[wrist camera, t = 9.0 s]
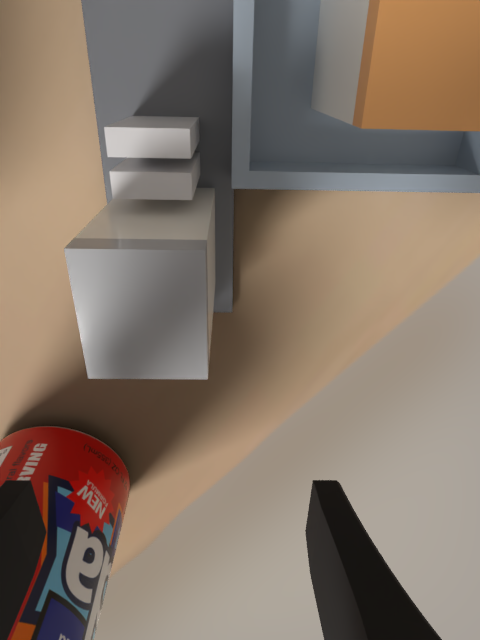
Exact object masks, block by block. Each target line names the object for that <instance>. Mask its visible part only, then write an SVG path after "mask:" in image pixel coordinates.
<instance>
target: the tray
mask: <svg viewBox="0 0 480 640" xmlns="http://www.w3.org/2000/svg"><path fill="white" fill-rule="evenodd" d="M320 2H321V0H233V86H232V189H278V190H337V191H397V192H456V193H480V131H440V130H399V129H361V128H358V127H356V126H353V125H351V124H348V123H346V122H343V121H341V120H339V119H336V118H334V117H331V116H329V115H326V114H324V113H321V112H319V111H316V110H314V109H311V99H312V89H313V78H314V67H315V56H316V45H317V34H318V24H319V13H320Z"/></svg>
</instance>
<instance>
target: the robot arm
mask: <svg viewBox="0 0 480 640" xmlns="http://www.w3.org/2000/svg"><path fill="white" fill-rule="evenodd" d="M46 533H47V531H46V528H45V525H44V522H43V518H42V515H41V512H40V509H39V505H38V502H37V499H36V496H35V492H34V489H33V486H32V483H31V480H7V481H5V482H4V483H3V484H2V485H1V486H0V640H7V639H8V637H9V634H10V632H11V630H12V627H13V625H14V623H15V620H16V618H17V615H18V613H19V611H20V608H21V606H22V603H23V601H24V599H25V596H26V594H27V591H28V589H29V586H30V584H31V581H32V579H33V576H34V574H35V570H36V567H37V564H38V561H39V557H40V554H41V550H42V547H43V543H44V540H45V536H46ZM306 540H307V548H308V558H309V567H310V574H311V579H312V584H313V589H314V594H315V598H316V603H317V608H318V612H319V617H320V621H321V626H322V631H323V635H324V640H442V639H441V638H440V637H439V636H438V634H437V633H436V632H435V631H434V629H433V628H432V627H431V625H430V624H429V623H428V621H427V620H426V619H425V617H424V616H423V615H422V613H421V612H420V611H419V609H418V608H417V607H416V605H415V604H414V603H413V601H412V600H411V598H410V597H409V596H408V594H407V593H406V591H405V590H404V589H403V587H402V586H401V584H400V583H399V582H398V580H397V578H396V577H395V575H394V574H393V573H392V571H391V570H390V568H389V567H388V565H387V564H386V562H385V561H384V559H383V557H382V556H381V554H380V553H379V551H378V549H377V548H376V546H375V545H374V543H373V542H372V540H371V538H370V537H369V535H368V533H367V532H366V530H365V529H364V527H363V525H362V523H361V522H360V520H359V518H358V517H357V515H356V513H355V511H354V509H353V508H352V506H351V504H350V502H349V500H348V498H347V496H346V495H345V493H344V491H343V489H342V487H341V485H340V483H339V482H337V481H332V480H330V481H329V480H325V481H324V480H321V481H320V480H318V481H317V480H313V484H312V490H311V498H310V504H309V511H308V518H307V525H306Z"/></svg>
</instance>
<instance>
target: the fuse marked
mask: <svg viewBox="0 0 480 640" xmlns="http://www.w3.org/2000/svg"><path fill="white" fill-rule="evenodd" d="M311 109H314V110H316V111H319V112H321V113H324V114H326V115H329V116H331V117H334V118H336V119H339V120H341V121H343V122H346V123H348V124H351V125H353V126H356V127H358V128H361V129H399V130H440V131H480V0H321V2H320V13H319V24H318V34H317V45H316V56H315V67H314V78H313V89H312V99H311Z"/></svg>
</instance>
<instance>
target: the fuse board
mask: <svg viewBox="0 0 480 640" xmlns="http://www.w3.org/2000/svg"><path fill="white" fill-rule="evenodd" d="M81 2H82V10H83V17H84V25H85V33H86V41H87V49H88V57H89V64H90V72H91V80H92V88H93V96H94V104H95V111H96V119H97V127H98V135H99V143H100V151H101V159H102V166H103V174H104V182H105V190H106V198H107V204H108V203H109V202H110V201H111V200H112V199H148V200H192V199H193V196H194V193H195V190H196V188H215V295H214V307H213V312H232V300H233V225H234V189H232V86H233V0H81Z"/></svg>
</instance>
